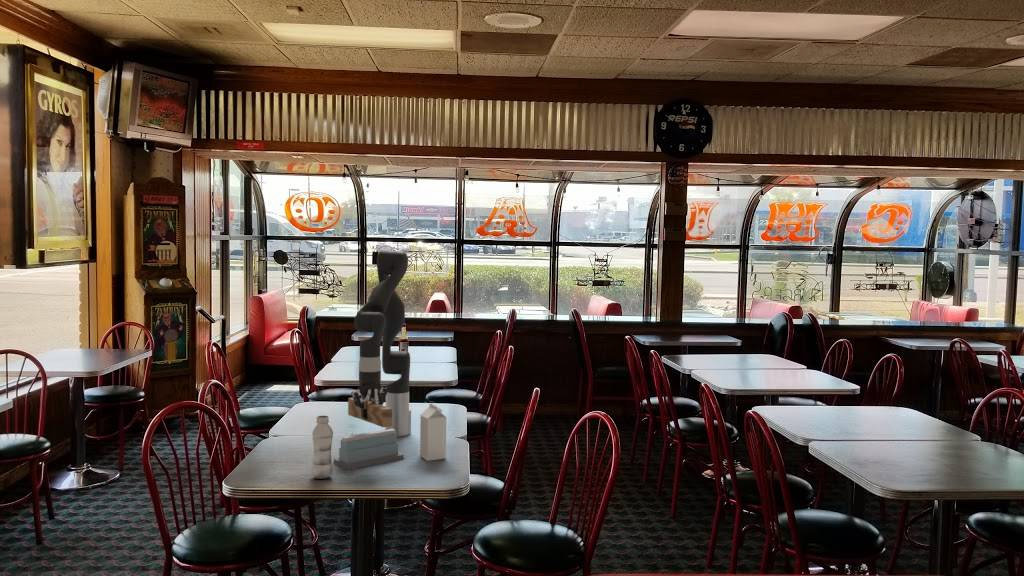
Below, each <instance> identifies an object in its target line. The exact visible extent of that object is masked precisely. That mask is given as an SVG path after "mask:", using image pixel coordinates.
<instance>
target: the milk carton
mask: <svg viewBox="0 0 1024 576" xmlns="http://www.w3.org/2000/svg"><path fill="white" fill-rule="evenodd" d="M419 428H420V432H419V433H420V434H419V436H420V437H419V438H420V441H419V442H420V443H419V445H420V447H419V448H420V449H419V451H420V452H419V456H420V457H421V458H422V459H424V460H426V462H429V461H436V460H437V461H438V460H446V458H447V416H446V415H445V414H443V410H442V408H440V407H438V406H437V405H435V404H433V403H431V402H429V406H428V407H427V408H426V409H425V410H424V411H423V412H422V413H421V414H420V427H419Z"/></svg>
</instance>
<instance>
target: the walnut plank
mask: <svg viewBox="0 0 1024 576" xmlns="http://www.w3.org/2000/svg"><path fill="white" fill-rule="evenodd" d="M347 401H348V402H347V404H348V405H347V409H348V410H347V413H348V414H347V415H348V416H350V417H353V418H357V419H360V420H361V421H365V422H366V423H367V422H368V423H371V424H373V425H375V426H379V427H381V428H385V427H390V426H392V408H389V407H386V405H384V404H383V405H379V404H376V403H373V402H372V401H371V400H369V402H368V404H367V419H366V420H364V419H362V417H361V408H359V407H356V405H355V402H354V400H353V397H348V399H347ZM360 401H361V398H360Z"/></svg>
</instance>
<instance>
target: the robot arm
mask: <svg viewBox="0 0 1024 576" xmlns="http://www.w3.org/2000/svg"><path fill="white" fill-rule="evenodd" d="M408 265H409V257H408V254H407V253H406V252H405V251H400V250H385V249H382V250H379V251H378V253H377V257H376V270H377V277H378V278H377V279H378V284H377V285H375V287H374V288H373V289H372V290H371V292H370V294H369V297H368V300H367V301H366V303H365V304H364V305H363V306H362V307H361V308H360V309H359V310H358V312H357V313H356V314H355V318H354V322H353V324H354V327H355V329H356V330H357V331H358V332H360V333H373V334H372V336H371V337H369V338H363V339H361V340H360V342H359V361H358V384H359V385H358V387H357V389H356V390H355V391H354V390H352V391H351V392H350V393H351V398H353V400H354V402H355V405H356V407H359V408H361V417H362V419H364V420H366V419H367V404H368V402H369V401H370V402H373V403H376V404H379V405H383V406H384V402H385V406H386V407H389V408H392V426H390V427H384V430H387V429H394V430H396V434H397V438H399V437H400V438H401V437H406V436H408V435H410V434H412V410H411V409H410V373H411V355H410V352H409V351H407V350H404V351H403V350H391V347H392V345H393V343H394V340H395V339H396V337H397V335H398V334H399V333H400V331H401V330H402V328H403V327H404V324H405V323H406V313H405V312H406V311H405V310H406V308H405V305H404V302H403V300H402V299H401V297H400V295H399V294H398V292H397V291H396V289H397V287H398V286H399V284H400V283H401V281H402V280H403V278H404V276H405V274H406V272H407V271H408V267H409V266H408ZM381 343H382V347H381ZM381 348H382V349H381ZM381 351H382V352H381ZM382 370H383V371H382ZM382 372H383V373H384V374H386V375H400V378H398V379H397V380H394V381H391V382H388V383H387V384H386V385H385V387H382V385H381V382H382V379H381V378H382ZM360 395H361V397H360ZM360 399H361V401H360ZM364 420H363V421H364Z"/></svg>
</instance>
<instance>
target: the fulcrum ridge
mask: <svg viewBox="0 0 1024 576" xmlns="http://www.w3.org/2000/svg"><path fill="white" fill-rule="evenodd" d="M338 451H339V453H338V457H337V458H335V457H334V458H333V464H335V465H337V466H338V467H341V468H343V469H345V470H347V469H348V470H349V469H350V470H353V468H355V469H359V467H360V468H364V466H365V467H369V466H370V467H371V466H374V465H379V464H380V465H381V464H384V463H389V462H394V461H400V460H404V459H405V454H403V453H401V452H399V442H398V437H397V434H396V430H394V429H387V430H385V429H383V430H382V429H381V430H376V431H372V432H371V431H370V432H363V433H358V434H352V435H347V436H341V439H340V447H339V450H338ZM350 470H349V471H350Z"/></svg>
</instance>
